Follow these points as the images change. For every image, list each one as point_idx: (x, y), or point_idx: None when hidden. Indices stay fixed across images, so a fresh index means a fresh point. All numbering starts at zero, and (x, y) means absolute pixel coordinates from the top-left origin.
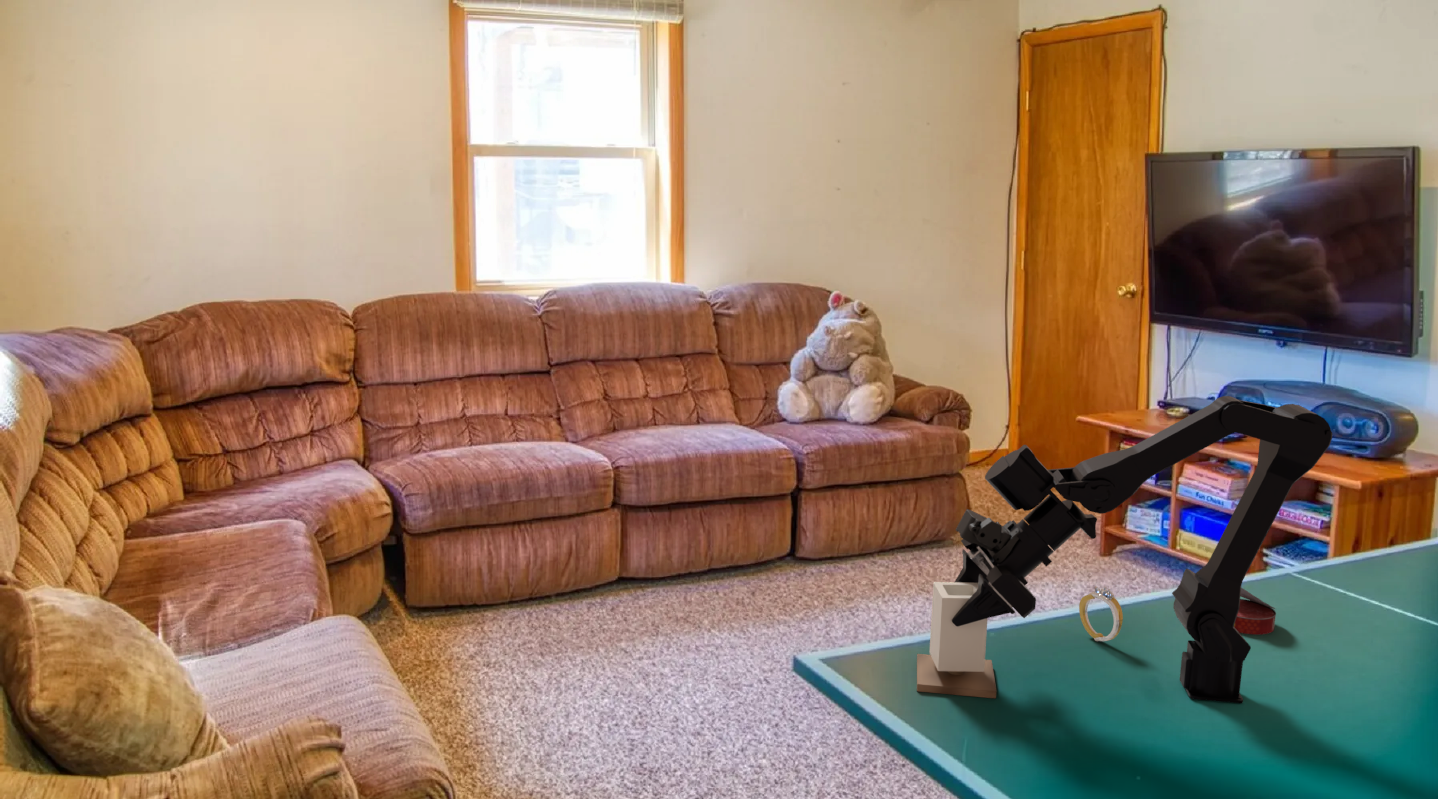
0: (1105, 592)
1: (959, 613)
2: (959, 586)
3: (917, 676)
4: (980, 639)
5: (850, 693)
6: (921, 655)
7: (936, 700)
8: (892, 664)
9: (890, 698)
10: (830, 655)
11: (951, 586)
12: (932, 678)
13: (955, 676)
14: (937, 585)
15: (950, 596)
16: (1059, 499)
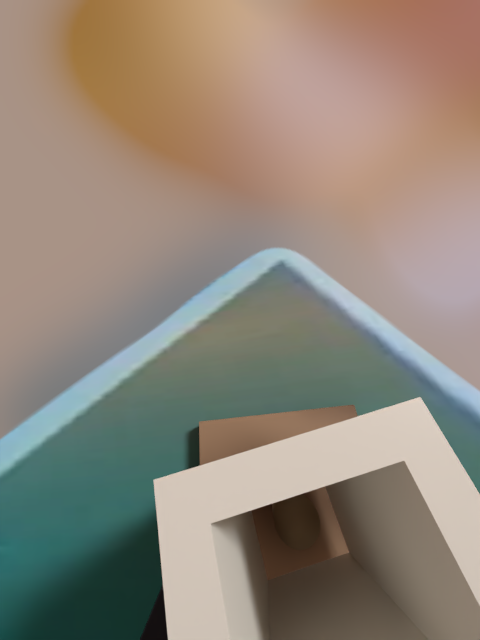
0: None
1: (159, 593)
2: (478, 615)
3: (234, 418)
4: None
5: (172, 319)
6: (349, 415)
7: (170, 468)
8: (309, 364)
9: (164, 380)
10: (301, 271)
11: (437, 534)
12: (234, 452)
13: (262, 510)
14: (371, 428)
15: (191, 542)
16: None
